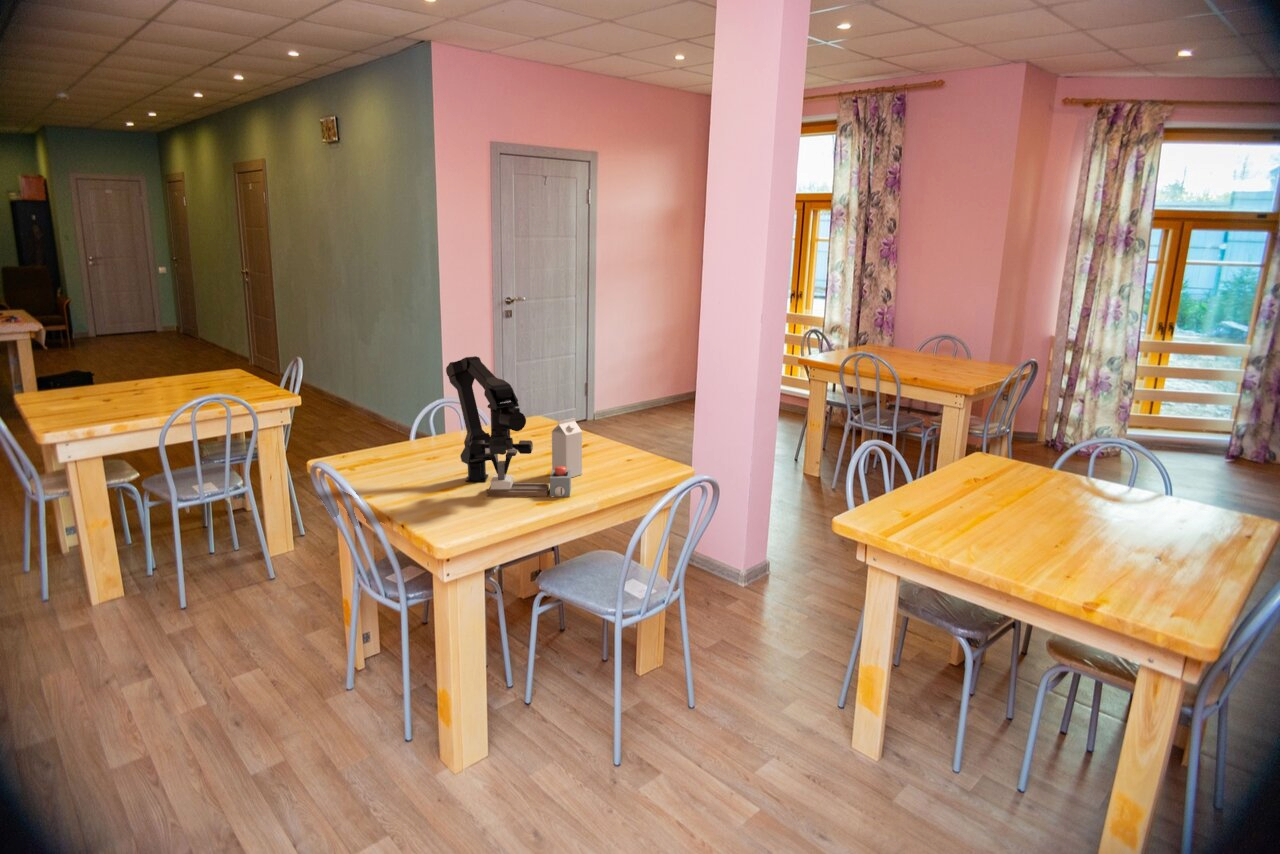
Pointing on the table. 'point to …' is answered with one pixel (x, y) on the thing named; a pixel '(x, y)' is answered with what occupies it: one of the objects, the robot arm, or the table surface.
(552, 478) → the end cabinet
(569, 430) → the milk carton
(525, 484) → the rail
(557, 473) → the button
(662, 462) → the table surface
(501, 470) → the carriage
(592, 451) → the table surface
